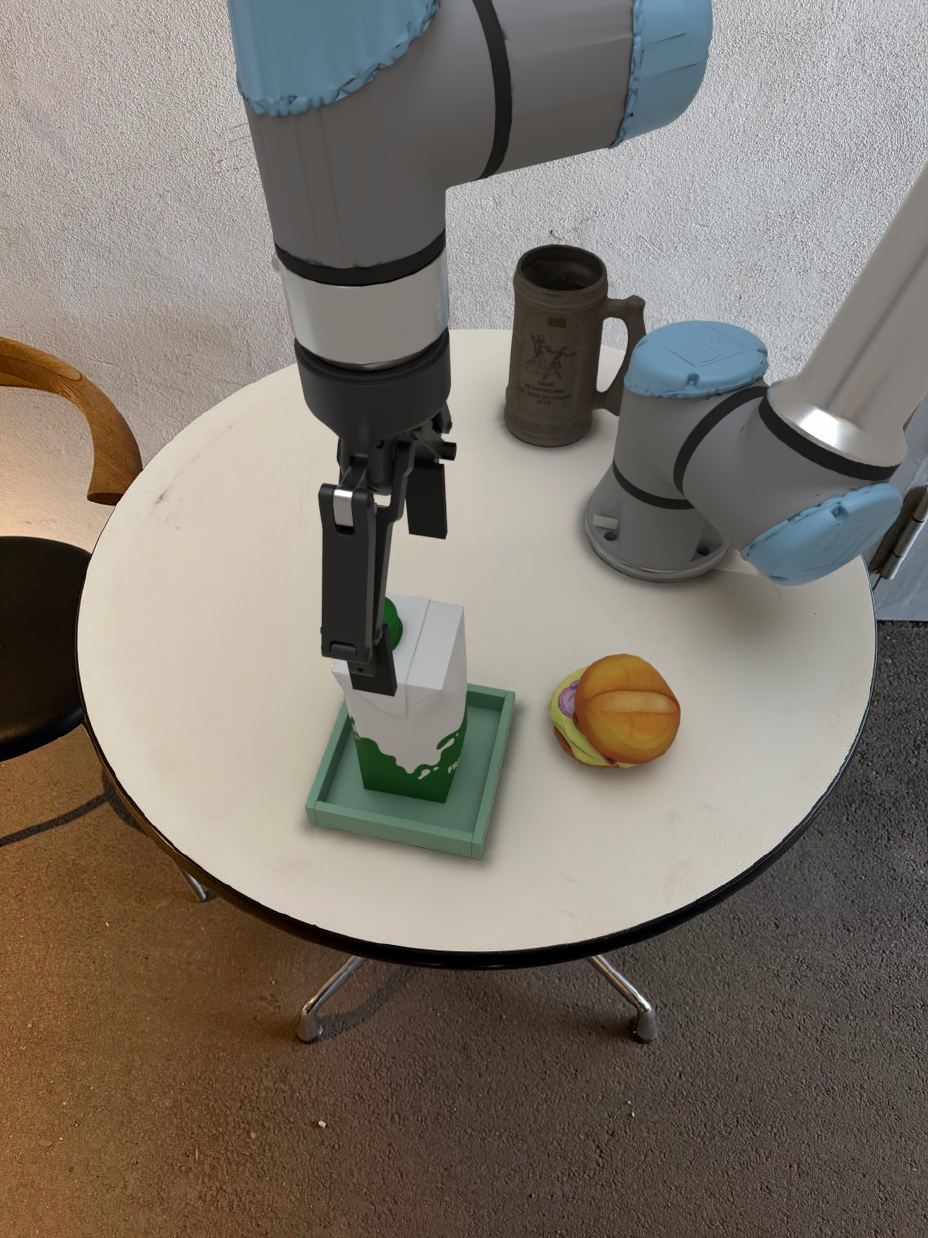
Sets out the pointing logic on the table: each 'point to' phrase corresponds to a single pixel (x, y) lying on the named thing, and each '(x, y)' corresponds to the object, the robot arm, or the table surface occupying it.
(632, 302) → the beer stein
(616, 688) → the cheeseburger
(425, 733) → the soya milk
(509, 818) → the table surface
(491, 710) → the tray
